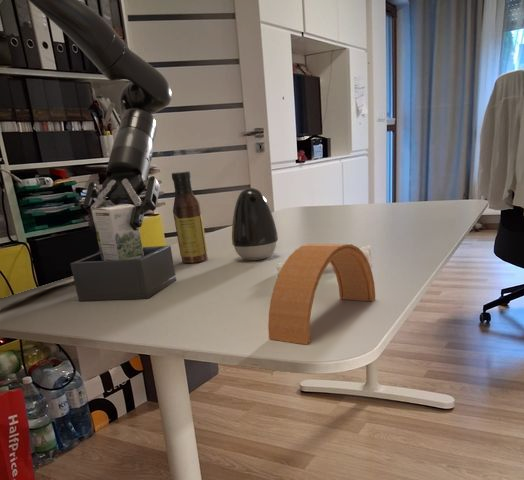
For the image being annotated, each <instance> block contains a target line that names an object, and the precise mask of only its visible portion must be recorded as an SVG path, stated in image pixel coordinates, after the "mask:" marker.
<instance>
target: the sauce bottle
mask: <svg viewBox="0 0 524 480" xmlns="http://www.w3.org/2000/svg"><path fill="white" fill-rule="evenodd" d="M191 176H192V175H191V171H190V170H183V171H175V172H172V173H171V180H172V181H173V187H174V193H175V194H174V201H173V206H172V214H173V215H172V216H173V220H174V225H175V231H176V237H177V243H178V248H179V256H180V257H181V261H182V263H184V264H199V263H201V262H205V261H207V260H208V247H207V240H206V233H205V228H204V221H203V216H202V211H201V205H200V202H199V200H198V198H197V197H196V196H195V194H194V193H193V188H192V181H191Z"/></svg>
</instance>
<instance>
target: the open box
mask: <svg viewBox="0 0 524 480" xmlns="http://www.w3.org/2000/svg"><path fill="white" fill-rule="evenodd" d="M142 248H143V253H144V257H141V258H139V259H126V260H108V261H102V258H101V254H100V252H99V253H98V252H96V253H94V254H91V255H88V256H86V257H84V258H81V259H79V260H76V261H73V262H70V265H69V266H70V269H71V273H72V277H73V281H74V282H73V283H74V287H75V290H76V291H75V292H76V295H77V299H78V301H79V302H93V301H120V300H121V301H123V300H125V301H127V300H148V299H150V298H152V297H153V296H155V295H157V294H158V293H159V292H160V291H162V290H164V289H166V288H167V287H169V286H170V285H172V284H174V282H176V281H177V276H176V272H175V271H176V270H175V264H174V259H173V251H172V246H171V245H157V246H142Z"/></svg>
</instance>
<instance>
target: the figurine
mask: <svg viewBox="0 0 524 480" xmlns="http://www.w3.org/2000/svg"><path fill="white" fill-rule="evenodd" d="M350 245H354V246H355V243H352V244H351V243H350ZM358 248H359V249H360V250H361V251H362V252H363V253H364V255H365V256H366V258H367V260H368V262H369V265H370V268H371V267H373V255H372V254H373V253H372V249H371V248H372V247H371V245H365V246H361V247H358ZM286 261H287V260H285V261H283V262H278V263H277V264H276V266H275V268H276V271H277V272H278V273H280V271H281V269H282V267H283V265H284V263H285V262H286ZM371 269H372V268H371ZM327 270H334V268H333V266H332V265H331V263H330V262H329V264H328V265H327V267H326V268H325V270H324V271H327Z"/></svg>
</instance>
